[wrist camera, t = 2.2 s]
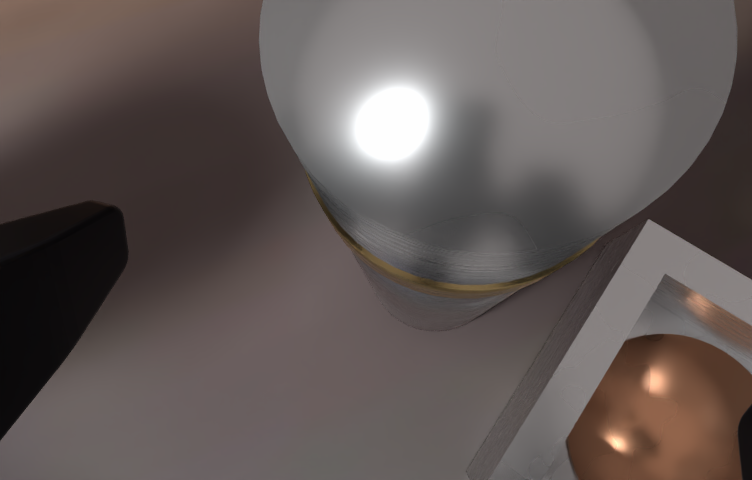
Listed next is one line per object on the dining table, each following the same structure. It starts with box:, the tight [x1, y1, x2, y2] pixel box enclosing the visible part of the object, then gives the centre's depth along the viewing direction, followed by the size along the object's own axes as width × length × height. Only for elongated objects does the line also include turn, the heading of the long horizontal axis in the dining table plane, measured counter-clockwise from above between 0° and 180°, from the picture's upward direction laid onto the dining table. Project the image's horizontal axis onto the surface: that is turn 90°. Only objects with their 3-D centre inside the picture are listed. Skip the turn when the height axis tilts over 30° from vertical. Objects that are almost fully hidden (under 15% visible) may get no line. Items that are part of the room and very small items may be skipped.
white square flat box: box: [466, 219, 752, 480], centre depth 15 cm, size 8×8×3 cm
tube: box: [259, 0, 737, 331], centre depth 11 cm, size 4×4×13 cm
